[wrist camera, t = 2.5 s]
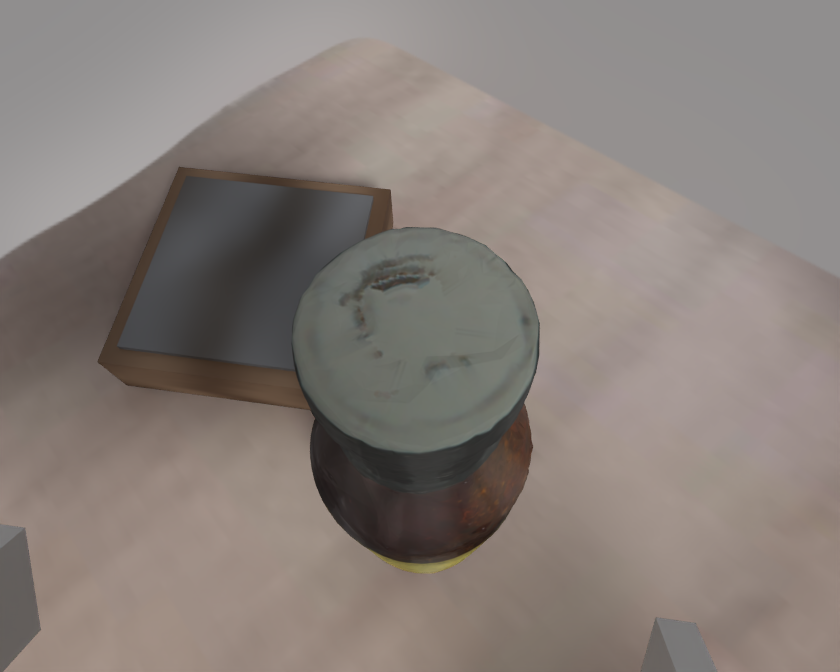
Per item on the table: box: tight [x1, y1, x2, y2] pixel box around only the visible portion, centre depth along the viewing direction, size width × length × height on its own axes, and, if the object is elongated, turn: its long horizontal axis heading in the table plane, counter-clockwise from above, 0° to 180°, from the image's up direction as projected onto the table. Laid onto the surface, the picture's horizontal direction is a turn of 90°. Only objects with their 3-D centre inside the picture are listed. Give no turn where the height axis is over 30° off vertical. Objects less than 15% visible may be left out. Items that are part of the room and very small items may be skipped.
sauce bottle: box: [291, 227, 540, 573], centre depth 18 cm, size 6×6×20 cm
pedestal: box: [98, 167, 393, 410], centre depth 31 cm, size 12×12×3 cm
